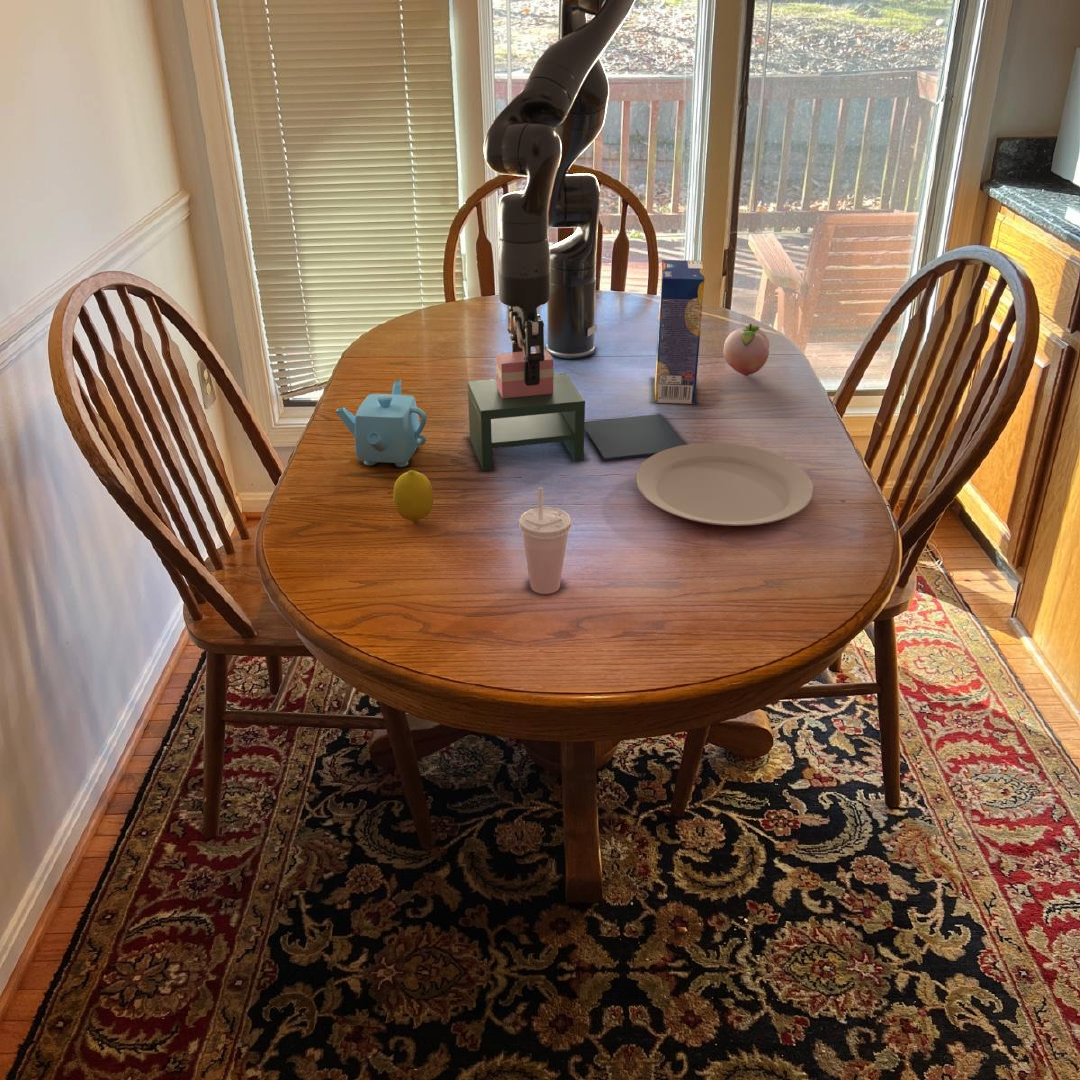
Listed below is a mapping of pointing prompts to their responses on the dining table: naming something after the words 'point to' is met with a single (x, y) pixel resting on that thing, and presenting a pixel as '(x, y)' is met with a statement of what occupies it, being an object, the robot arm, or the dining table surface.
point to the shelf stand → (525, 418)
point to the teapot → (386, 427)
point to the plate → (724, 484)
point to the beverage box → (678, 331)
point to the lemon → (413, 496)
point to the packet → (522, 375)
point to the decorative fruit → (746, 349)
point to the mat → (631, 436)
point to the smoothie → (545, 545)
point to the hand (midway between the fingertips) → (525, 374)
